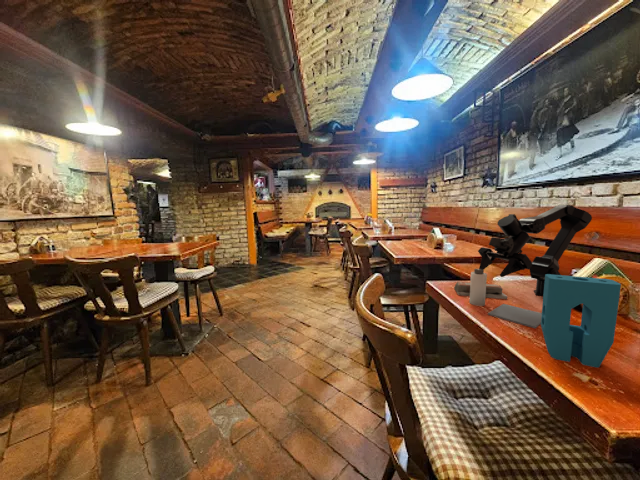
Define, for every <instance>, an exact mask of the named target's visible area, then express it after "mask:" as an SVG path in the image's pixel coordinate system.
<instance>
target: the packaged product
mask: <svg viewBox="0 0 640 480" xmlns="http://www.w3.org/2000/svg"><path fill="white" fill-rule="evenodd" d="M453 288H454V290H455V292H456V294H457V295H458V296H464V297H465V296H466V297H470V281H456V283H455V285H454V286H453ZM503 290H504V289H503V288H502V286H501V285H498V284H495V283H494V284H492V283H486V298H487V299H498V300H499V299H500V300H501V299H502V300H508V295H506V294H505V293H503ZM486 298H485V299H486Z"/></svg>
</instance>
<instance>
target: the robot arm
mask: <svg viewBox="0 0 640 480" xmlns="http://www.w3.org/2000/svg"><path fill="white" fill-rule="evenodd" d="M558 220H559V224H560V229H559V231H558V232H557V234H556V236H555V237H554V238H553V240H552V242H551V243H550V244H549V246H548V248H547V249H546V251H545V253H544V254H543V255H542V256H538V255H537V256H535V257H534V259H533V260H532V261H531V259H530V257H528V255H527V254H526V253H523V250H522V249H523V248H524V246H525V245H526V244H533V239H532V235H531V236H530V234H534V235H536V234H540V233H541V232H543V231H544V230H545V229H546V226H547V225H549V224H551V223H553V222H555V221H558ZM592 220H593V216H592V214H590V213H589V212H588V211H586V210H584V209H581V208H579V207H578V208H577V207H575V206H574V205H571V204H558V205H555V206H553V208H551V209H549V210H546V211H545V212H543V213H540V214H538V215H535V216H529V217H523V218H520V219H518V217H517V215H516V214H515V213H509V214H508V215H507V216H504V217H502V218H500V219H499V220H498V221H497V225H498V228H500V229H501V231H502V232H503V234H504V235H505V236H508V237H505V238H502V237H495V236H492V237H490V240H489V243H488V245H489V246H492V247H493V248H494V249H493V250H494V251H496V252H494V251H493V250H492V249H491V248H489V247H480V248H479V249H478V250H477V252H478V254H479V255H480V256H481V260H480V264H479V268H478V269H483V270H484V271H485V269H486V268H488V267H489V266H490V265H492V264H493V261H495V260H496V259H500V260H504V261H508V263H507V265H505V267H504V268H503V270H502V271H501V272H500V273H499V276H500V277H501V278H505V276H509V275H512V274H514V273H516V272H520V271H524V270H529V273H530V278H531V279H535V280H536V284H535V287H536V288H535V289H533V293H534V294H535V295H536V296H541V297H543V294H544V283H545V274H552V275H562V274H561V273H560V272H559V271H560V263H559V260H560V259H561V258H562V256H563V255H564V253H565V251H566V249H568V247H569V245H570V243H571V242H572V241H573V239H574V237H575V236H576V234H577V233H578V232H580V231H582V230H584V229H586V228H587V226H589V224H590V223H591V222H592Z"/></svg>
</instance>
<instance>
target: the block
mask: <svg viewBox="0 0 640 480" xmlns="http://www.w3.org/2000/svg"><path fill="white" fill-rule="evenodd" d="M621 287H622V283H619V282H618V281H615V280H614V279H607V278H602V277H601V278H597V277H587V276H573V275H562V274H561V275H552V274H545V283H544V294H543V296H542V305H541V307H542V309H541V313H542V316H541V324H540V327H541V331H542V335H543V339H544V343H545V347H546V350H547V353H548V354H549V356H550V357H551V358H552V359H554V360H557V361H558V360H559V361H563V362H568V363H571V359H572V358H571V357H573V358H576V359H577V360H578V361H579V362H580V364H582V365H583V366H588V367H592V368H600V367H601V365H602V363H603V361H604V360H605V358H606V356H607V354H608V353H609V351H610V350H611V347H612V346H613V344H614V341H615V335H616V327H617V318H618V311H619V302H620V295H621V294H620V293H621ZM579 305H582V310H581V321H580V325H574V324H571V317H572V309H574V308H576V307H577V306H579Z"/></svg>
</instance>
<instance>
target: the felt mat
mask: <svg viewBox="0 0 640 480" xmlns="http://www.w3.org/2000/svg"><path fill="white" fill-rule="evenodd" d="M487 315H488V316H491V317H494V318H498V319H501V320H504V321H508V322H511V323H514V324H518V325H522V326H525V327H529V328H532V329H537V328H538V327H539V326H541V316H542V312H539V311H534V310H530V309H528V308H527V309H526V308H522V307H517V306H514V305H510V304H506V303H503V304H500V305H499V306H497V307H496V308H494V309H492V310H491V311H489V312H487Z"/></svg>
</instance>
